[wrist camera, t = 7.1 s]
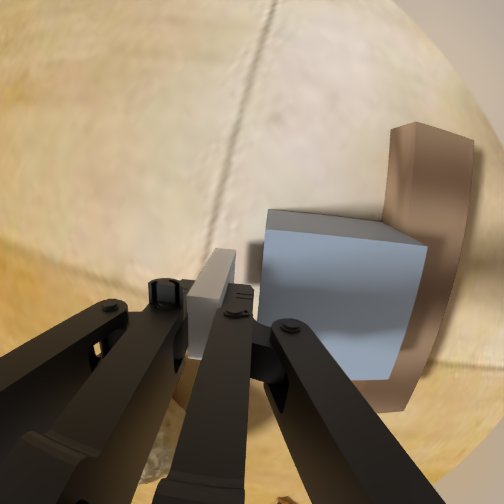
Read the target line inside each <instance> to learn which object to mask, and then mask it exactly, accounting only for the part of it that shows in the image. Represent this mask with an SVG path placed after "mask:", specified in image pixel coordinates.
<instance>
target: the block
mask: <svg viewBox="0 0 504 504" xmlns="http://www.w3.org/2000/svg"><path fill="white" fill-rule="evenodd" d="M427 248H428V246H426V245H424V244H422V243H421V242H419V241H417V240H415V239H413V238H411V237H410V236H408V235H406V234H404V233H402V232H400V231H398V230H396V229H394V228H392V227H391V226H389V225H387V224H385V223H383V222H378V221H370V220H362V219H354V218H346V217H338V216H329V215H320V214H310V213H301V212H291V211H280V210H269V209H268V214H267V221H266V229H265V240H264V251H263V262H262V274H261V284H260V295H259V306H258V317H257V322H258V323H260V324H263V325H266V326H269V327H271V325H272V323H273V322H274V321H276V320H278V319H284V318H294V319H298V320H300V321H302V322H304V323H306V324H307V325H308V326H309V327H310V328H311V329H312V331H313V332H314V333H315V335H316V336H317V337H318V338H319V340H320V341H321V342H322V344H323V345H324V346H325V348H326V349H327V350H328V351H329V353H330V354H331V355H332V357H333V358H334V359H335V361H336V362H337V363H338V364H339V366H340V367H341V368H342V370H343V371H344V372H345V373H346V375H347V376H348V377H349V379H350V380H386V379H389V377H390V374H391V372H392V369H393V367H394V364H395V361H396V359H397V356H398V353H399V350H400V347H401V344H402V342H403V339H404V336H405V332H406V329H407V326H408V323H409V320H410V316H411V313H412V310H413V306H414V303H415V299H416V295H417V292H418V288H419V284H420V280H421V276H422V271H423V267H424V262H425V258H426V253H427Z"/></svg>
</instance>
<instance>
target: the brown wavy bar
mask: <svg viewBox="0 0 504 504" xmlns="http://www.w3.org/2000/svg"><path fill="white" fill-rule="evenodd" d="M473 155H474V140H471V139H468V138H466V137H463V136H460V135H457V134H454V133H451V132H448V131H445V130H442V129H439V128H436V127H432V126H429V125H426V124H422V123H419V122H413V123H410V124H407V125H404V126H400V127H397V128H394V129H391V135H390V152H389V165H388V176H387V185H386V194H385V203H384V210H383V217H382V222H383V223H385V224H387V225H389V226H391V227H392V228H394V229H396V230H398V231H400V232H402V233H404V234H406V235H408V236H410V237H411V238H413V239H415V240H417V241H419V242H421V243H422V244H424V245H426V246H428V248H427V253H426V258H425V262H424V267H423V271H422V276H421V280H420V284H419V288H418V292H417V295H416V299H415V303H414V306H413V310H412V313H411V316H410V320H409V323H408V326H407V329H406V332H405V336H404V339H403V342H402V344H401V347H400V350H399V353H398V356H397V359H396V361H395V364H394V367H393V369H392V372H391V374H390V377H389V379H386V380H351V381H352V383H353V384H354V385H355V386H356V388H357V389H358V390H359V392H360V393H361V394H362V396H363V397H364V398H365V399H366V401H367V402H368V403H369V405H370V406H371V407H372V409H373V410H374V411H375V412H376V413H389V412H399V411H404V409H405V407H406V405H407V403H408V401H409V399H410V397H411V395H412V393H413V391H414V389H415V387H416V385H417V383H418V380H419V378H420V376H421V374H422V371H423V369H424V367H425V364H426V362H427V360H428V357H429V355H430V352H431V350H432V347H433V344H434V342H435V339H436V336H437V334H438V331H439V328H440V325H441V322H442V319H443V316H444V313H445V310H446V307H447V303H448V300H449V297H450V293H451V290H452V286H453V282H454V279H455V275H456V271H457V267H458V262H459V258H460V253H461V249H462V244H463V239H464V233H465V228H466V222H467V215H468V208H469V201H470V192H471V183H472V171H473Z"/></svg>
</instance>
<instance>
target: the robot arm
mask: <svg viewBox="0 0 504 504" xmlns="http://www.w3.org/2000/svg"><path fill="white" fill-rule="evenodd" d="M235 258H236V250H231V249H220V248H215V250H214V251H213V253H212V255H211V256H210V258H209V259H208V261H207V263H206V264H205V266H204V268H203V269H202V271H201V273H200V274H199V276H198V277H197V279H196V281H195V280H186V279H182V280H180V281H179V280H176V279H171V278H160V279H155V280H152V281H150V282H148V289H149V304H148V305H147V307H146V308H145V309H144V310H143V311H142V312H128V306H127V304H126V303H125V302H123V301H121V300H117V299H107V300H103V301H100V302H98V303H96V304H94V305H92V306H91V307H89V308H87V309H85V310H83V311H81V312H80V313H78V314H76V315H74V316H72V317H71V318H69V319H67V320H65V321H63V322H62V323H60V324H58V325H56V326H54V327H53V328H51V329H49V330H47V331H46V332H44V333H42V334H40V335H38V336H37V337H35V338H33V339H31V340H30V341H28V342H26V343H24V344H23V345H21V346H19V347H18V348H16V349H14V350H12V351H11V352H9V353H7V354H6V355H4V356H2V357H0V504H131V502H132V499H133V496H134V494H135V491H136V488H137V486H138V483H139V480H140V478H141V475H142V472H143V470H144V467H145V465H146V462H147V459H148V457H149V454H150V452H151V449H152V447H153V444H154V441H155V439H156V436H157V434H158V431H159V429H160V426H161V424H162V421H163V419H164V416H165V414H166V411H167V409H168V406H169V404H170V401H171V399H172V396H173V394H174V391H175V389H176V386H177V384H178V381H179V379H180V376H181V374H182V371H183V369H184V367H185V352H186V350H187V348H188V358H190V359H198V360H201V363H200V366H199V369H198V373H197V376H196V380H195V383H194V386H193V390H192V393H191V397H190V400H189V404H188V407H187V411H186V414H185V418H184V421H183V425H182V428H181V432H180V435H179V439H178V442H177V446H176V449H175V453H174V457H173V460H172V464H171V468H170V471H169V474H168V476H167V477H166V478H163V479H161V480H160V482H159V483H158V486H157V488H156V491H155V494H154V497H153V501H152V504H244V502H245V490H244V477H245V459H246V441H247V423H248V404H249V385H250V378H252V379H256V380H259V381H262V382H264V390H265V392H266V395H267V397H268V400H269V402H270V405H271V407H272V410H273V413H274V415H275V417H276V420H277V422H278V425H279V427H280V430H281V432H282V435H283V437H284V440H285V442H286V444H287V447H288V449H289V452H290V454H291V456H292V459H293V461H294V463H295V466H296V468H297V470H298V473H299V475H300V477H301V480H302V482H303V484H304V487H305V489H306V491H307V493H308V496H309V498H310V500H311V502H312V504H446V503H445V502H444V501H443V499H442V498H441V497H440V495H439V494H438V493H437V492H436V490H435V489H434V488H433V486H432V485H431V484H430V482H429V481H428V480H427V479H426V477H425V476H424V475H423V473H422V472H421V471H420V469H419V468H418V467H417V466H416V464H415V463H414V462H413V460H412V459H411V458H410V457H409V455H408V454H407V453H406V451H405V450H404V449H403V447H402V446H401V445H400V444H399V442H398V441H397V440H396V438H395V437H394V436H393V434H392V433H391V432H390V431H389V429H388V428H387V427H386V425H385V424H384V423H383V421H382V420H381V419H380V418H379V416H378V415H377V414H376V412H375V411H374V410H373V409H372V407H371V406H370V405H369V403H368V402H367V401H366V399H365V398H364V397H363V396H362V394H361V393H360V392H359V390H358V389H357V388H356V386H355V385H354V384H353V383H352V381H351V380H350V379H349V377H348V376H347V375H346V373H345V372H344V371H343V370H342V368H341V367H340V366H339V364H338V363H337V362H336V361H335V359H334V358H333V357H332V355H331V354H330V353H329V351H328V350H327V349H326V348H325V346H324V345H323V344H322V342H321V341H320V340H319V338H318V337H317V336H316V335H315V333H314V332H313V331H312V329H311V328H310V327H309V326H308V325H307V324H306V323H304V322H302V321H300V320H298V319H294V318H284V319H278V320H276V321H274V322H273V323H272V325H271V327H269V326H266V325H263V324H260V323H258V322H257V321H256V320H254V318H253V314H252V311H253V298H254V289H253V288H252V287H251V286H250V285H244V284H234V273H235ZM98 342H99V344H100V349H101V353H100V354H99V355H96V354H95V351H94V346H93V345H95V344H96V343H98Z"/></svg>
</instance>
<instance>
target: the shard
mask: <svg viewBox="0 0 504 504" xmlns="http://www.w3.org/2000/svg"><path fill="white" fill-rule="evenodd" d="M273 504H290V503H289V502H287V501H285V500H283V499H281V498H278V497H277V499H276V500H275V501H274V502H273Z"/></svg>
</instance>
